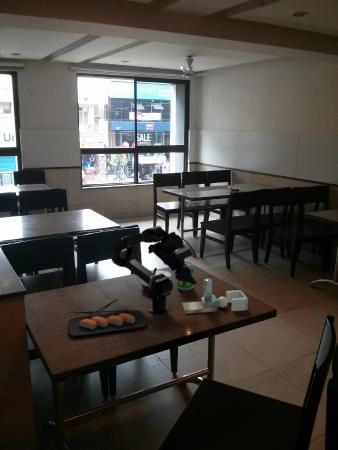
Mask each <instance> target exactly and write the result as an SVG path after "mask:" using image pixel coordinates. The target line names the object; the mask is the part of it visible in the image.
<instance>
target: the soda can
mask: <svg viewBox="0 0 338 450" xmlns="http://www.w3.org/2000/svg"><path fill="white" fill-rule="evenodd" d="M185 264H186V265H187V266H188V267H189V268H190V270H191V274H192V277H193V278H194V277H195V276H194V275H195V272H194V271H195V268H194V264H193V263H192V262H191V261H185ZM194 279H195V278H194ZM194 285H195V284H191V283H188V282H184V281H178V280H177V288H178V289H179V290H181V291H184V292H185V291H187V292H188V291H191V290H192V289H193V288H194V287H195V286H194Z"/></svg>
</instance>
